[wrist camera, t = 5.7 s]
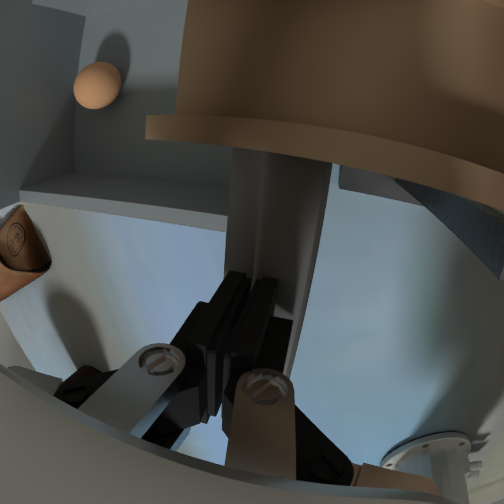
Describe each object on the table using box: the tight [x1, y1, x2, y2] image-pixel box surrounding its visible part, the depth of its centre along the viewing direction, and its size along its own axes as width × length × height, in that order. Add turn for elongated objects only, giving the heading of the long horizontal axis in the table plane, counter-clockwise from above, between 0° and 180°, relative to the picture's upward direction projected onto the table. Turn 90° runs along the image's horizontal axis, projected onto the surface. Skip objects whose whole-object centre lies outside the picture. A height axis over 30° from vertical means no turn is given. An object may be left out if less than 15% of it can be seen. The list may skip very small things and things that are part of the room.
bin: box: [0, 0, 233, 232], centre depth 14 cm, size 18×16×12 cm
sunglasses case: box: [0, 205, 52, 302], centre depth 29 cm, size 18×7×7 cm, turn 115°
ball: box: [74, 62, 121, 109], centre depth 18 cm, size 4×4×4 cm
